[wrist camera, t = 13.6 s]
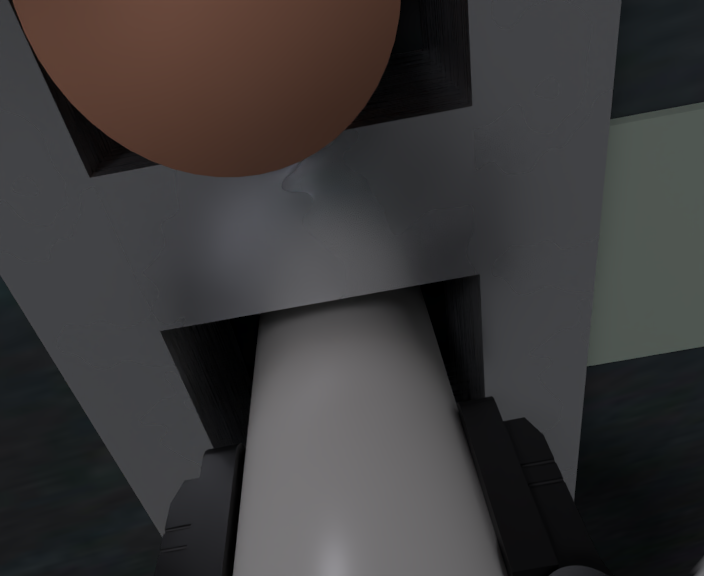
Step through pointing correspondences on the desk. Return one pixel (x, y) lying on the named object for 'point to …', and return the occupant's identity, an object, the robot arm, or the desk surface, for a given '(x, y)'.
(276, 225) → the housing
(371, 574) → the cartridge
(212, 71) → the plunger
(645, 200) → the mat
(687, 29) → the desk surface
